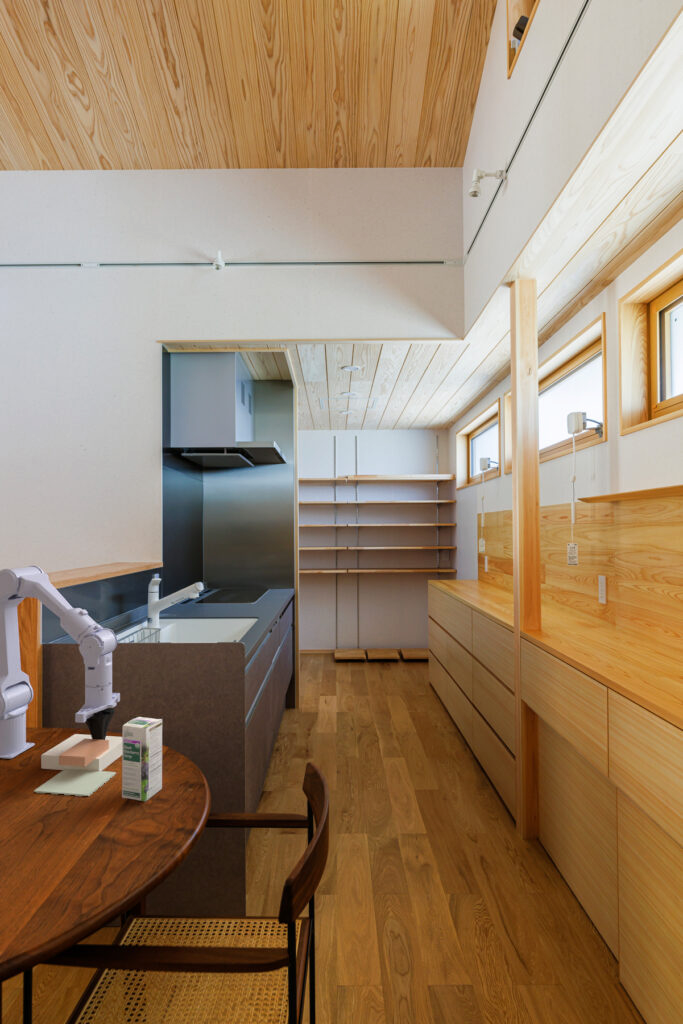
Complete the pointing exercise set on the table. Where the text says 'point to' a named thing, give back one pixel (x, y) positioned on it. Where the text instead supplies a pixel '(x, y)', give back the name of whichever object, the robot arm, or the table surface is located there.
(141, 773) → the syrup box
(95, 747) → the tile
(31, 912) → the table surface
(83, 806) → the table surface
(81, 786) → the mat
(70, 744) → the white flat block
